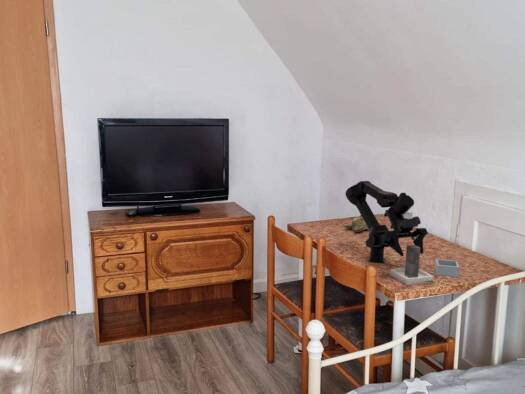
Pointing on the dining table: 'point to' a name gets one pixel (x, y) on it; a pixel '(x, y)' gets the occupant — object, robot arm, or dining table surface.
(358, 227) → the ceramic sculpture
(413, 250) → the dark grey pillar
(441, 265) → the square frame
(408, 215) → the skincare box
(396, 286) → the dining table surface
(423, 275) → the tray
